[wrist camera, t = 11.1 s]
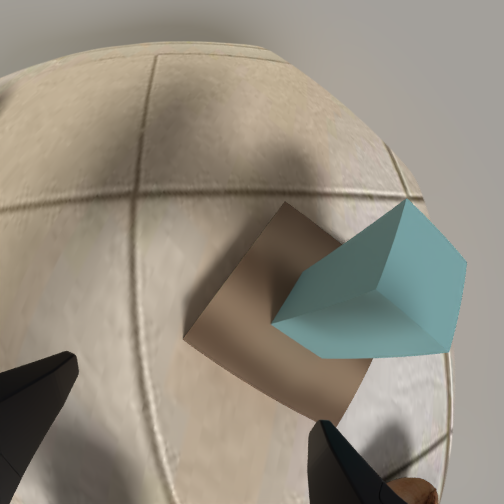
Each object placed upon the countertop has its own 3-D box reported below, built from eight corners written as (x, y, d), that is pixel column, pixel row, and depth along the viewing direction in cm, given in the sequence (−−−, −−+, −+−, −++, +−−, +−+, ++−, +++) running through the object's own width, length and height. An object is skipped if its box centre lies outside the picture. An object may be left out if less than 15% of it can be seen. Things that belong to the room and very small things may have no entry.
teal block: (322, 358, 20) (448, 352, 9) (270, 324, 20) (375, 289, 9) (349, 306, 22) (466, 262, 11) (302, 271, 22) (406, 198, 11)
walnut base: (317, 422, 21) (334, 429, 18) (183, 339, 21) (182, 338, 18) (380, 299, 26) (399, 292, 24) (274, 216, 26) (285, 201, 24)
